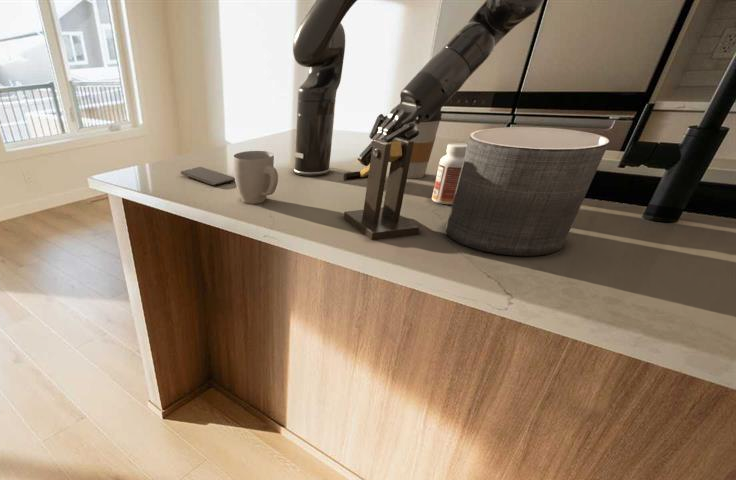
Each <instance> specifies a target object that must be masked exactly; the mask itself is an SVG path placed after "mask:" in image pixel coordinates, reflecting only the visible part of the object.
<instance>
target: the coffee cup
mask: <svg viewBox="0 0 736 480" xmlns="http://www.w3.org/2000/svg"><path fill="white" fill-rule="evenodd" d="M442 115H443V113H442V108H441V109H440V110H439V111H438V112H437V113H436V114H435V115H434V116H433V117H432V118H431V119H430V120H429V121H421V122H420V123H419V124H418V125H417V129H418V131H419V132H420V133H419V135H418V136H416V137H415V138H413V139H411V140H410V141H413V142H414V144H413V149H412V154H411V159H410V164H409V170H408V175H407V179H420V178H423V177H424V175H425V174H426V171H427V169H428V168H427V167H428V165H429V163H430V159H431V154H432V151H433V148H434V146H435V142H436V138H437V133H438V129H439V125H440V122H441V120H442Z"/></svg>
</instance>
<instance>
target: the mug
mask: <svg viewBox="0 0 736 480" xmlns="http://www.w3.org/2000/svg"><path fill="white" fill-rule="evenodd" d="M274 163H275V157H274V154H273V153H272V152H270V151H266V150H247V151H246V150H245V151H241V152H237V153H235V154H234V155H233V156H232V166H233V175H234V176H233V177H234V178H235V180H234V181H235V186H236V188H237V191H238V194H239V196H240V198H241V201H242V203H245V204H250V205H254V204H255V205H256V204H261V203H264V202H265V201H266V198H267V196H271V195H273V194H274V193H275V191H276V189H277V186H278V183H279V174H278V171H277V169H276V167H274Z"/></svg>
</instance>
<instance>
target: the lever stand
mask: <svg viewBox="0 0 736 480" xmlns="http://www.w3.org/2000/svg"><path fill="white" fill-rule="evenodd" d="M398 141H401V148H402V156H401V157H399V158H398V159H397V160H395V161H394V162H390V166H389V162H388V161H389V155H390V149H391V144H390V143H387V142H385V141H382V140H379V139H377V140H373V147H372V154H371V161H370V168H369V175H368V179H367V183H366V189H365V197H364V204H363V209H355V210H347V211H344V213H343V219H344V220H345V221H347V222H348V223H349V224H350V225H352V226H353V227H354V228H356V229H357V230H358V231H359V232H361V233H362V234H363V235H365V236H366V237H367V238H368V239H370V240H371V241H373V240H374V241H375V240H380V239H390V238H397V237H404V236H405V237H407V236H413V235H419V233H420V230H421V229H420V228H421V227H420V226H419V225H417V224H416V223H414V222H412V221H411V220H409V219H407V218H406V217H404V216H402V215H401V210H402V207H403V206H402V205H403V201H404V196H405V191H406V184H407V179H408V178H407V175H408V170H409V164H410V159H411V154H412V149H413V144H414V142H413V141H410V140H407V139H404V138H401V137H399V138H395V141H394V142H398ZM388 166H389V171H388ZM387 172H388V177H387ZM386 179H387V183H386ZM385 185H386V187H385ZM385 188H386V189H385ZM384 192H385V195H384ZM383 198H384V200H383ZM382 203H383V207H382Z"/></svg>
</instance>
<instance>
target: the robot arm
mask: <svg viewBox="0 0 736 480" xmlns="http://www.w3.org/2000/svg"><path fill="white" fill-rule="evenodd" d="M357 1H358V0H315V1H314V3H313V5H311V7H310V9H309V10H308V12H307V14H306V15H305V16H304V18H303V19H302V22H301V23H300V24H299V26H298V28H297V30H296V33H295V35H294V39H293V43H292V53H293V57H294V60H295V62H296V63H297V64H298V65H299V66H302V67H303V68H308V74H307V77H306V79H305V80H304V82H303V83H301V85H299V87H298V90H297V106H296V107H297V109H296V110H297V111H296V129H295V130H296V131H295V149H294V151H295V152H294V167H293V173H294V174H296V175H299V176H302V177H303V176H304V177H318V176H320V177H321V176H325V175H327V174H329V173H330V165H331V164H330V163H331V157H332V156H331V153H332V143H333V134H334V132H333V131H334V123H335V111H336V110H335V108H336V99H337V91H338V89H339V87H340V85H341V80H342V74H343V66H344V59H345V53H346V31H345V28H344V25H343V24H342V21H343V19H344V18H345V16H347V15H346V14H347V13H348V12H349V10H350V9H351V8H352V7H353V6H354V5H355V4H356V2H357ZM544 1H545V0H484V2H483V3H482V4H481V5H480V7H478V8H477V10H476V11H475V12H474V14H473V15H472V16H471V18H470V19H469V20H468V21H467V23H466V24H465V25H464V26H462V27H461V29H459V30H458V32H456V33H455V34H454V36H452V38H450V40H448V41H447V43H446V44H445V45H444V46H443V47H442V48H441V49H440V50H439V52H438V53H436V54H435V55H434V56H432V57H431V59H429V60H428V61H427V63H425V65H424V66H423V67H422V68H421V69H420V70H419V71H418V73H416V74H415V76H414V77H413V78H412V79H411V80H410V81H409V82H408V83H407V84H406V86H405V87H403V89H402V90H401V91H400V94H399V95H400V96H399V98H400V101H399V103H398V104H397V105H396V106H394V107H393V108H392V109H391V110H390V112H389V113H388V114H387V115H384V114H383V113H380V114H379V115H378V116H377V117H376V119H375V122H374V124H373V126H372V129H371V131H370V133H369V135H368V137H369V138H370V143H369V144H368V145H367V146H366V147H365V149H363V150H362V152H361V153H360V154H359V155H358V156H357V160H358V162H359V163H360V164H361V165H362V166H364V167H367V166H368V165H369V164H370V161H371V154H372V147H373V140H377V139H379V140H382V141H385V142H387V143H389V142H394V141H395V138H399V137H401V138H404V139H407V140H411V139H413V138H415V137H416V136H418V135H419V133H420V132H419V131H418V129H417V125H418V124H419V123H420V122H421V121H429V120H430V119H431V118H432V117H433V116H434V115H435V114H436V113H437V112H438V111H439V110H440V109H441V110H442V108H444V106H445V105H446V104H447V103H448V102H449V101H450V100H451V99H452V98H453V97H454V95H455V94H456V93H458V91H459V90H460V89H461V88H462V87H463V85H464V84H465V83H466V82H467V80H468V79H469V78H470V77H471V76H472V75H473V74H474V73H475V72H476V71H477V70H478V69H479V67H481V66H482V65H483V64H484V63H485V61H486V60H487V59H488V58H489V57H490V56H491V54H492V52H493V51H494V48H495V47H496V46H497V45H498V44H499V43H500V42H501V41H502V40H503V39H504V38H505V36H507V35H508V34H509V33H510V32H511V31H512V30H513V29H514V28H515V27H517V26H518V25H520V23H522V22H524V21H525V20H526V19H528V18H529V17H531V16H532V15H533V14H535V13H536V12H537V11H538V10H539V9H540V7H541V6H542V5H543V3H544Z"/></svg>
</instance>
